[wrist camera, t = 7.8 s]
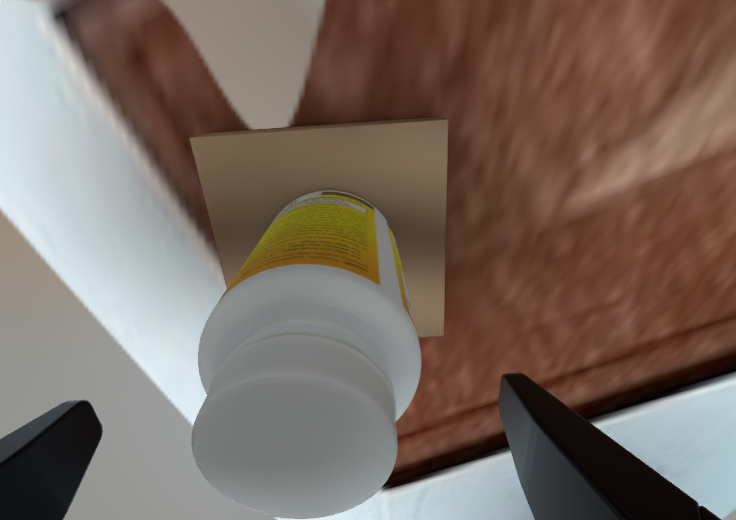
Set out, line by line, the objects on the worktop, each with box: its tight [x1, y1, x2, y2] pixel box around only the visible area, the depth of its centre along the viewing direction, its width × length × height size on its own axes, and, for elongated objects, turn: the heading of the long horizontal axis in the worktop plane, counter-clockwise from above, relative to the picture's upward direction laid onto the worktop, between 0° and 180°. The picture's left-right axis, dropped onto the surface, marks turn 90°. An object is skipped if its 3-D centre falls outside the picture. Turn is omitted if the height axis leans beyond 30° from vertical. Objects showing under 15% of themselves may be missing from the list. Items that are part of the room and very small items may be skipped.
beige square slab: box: [189, 117, 448, 337], centre depth 17 cm, size 10×10×2 cm
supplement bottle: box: [192, 190, 421, 519], centre depth 12 cm, size 6×6×10 cm
